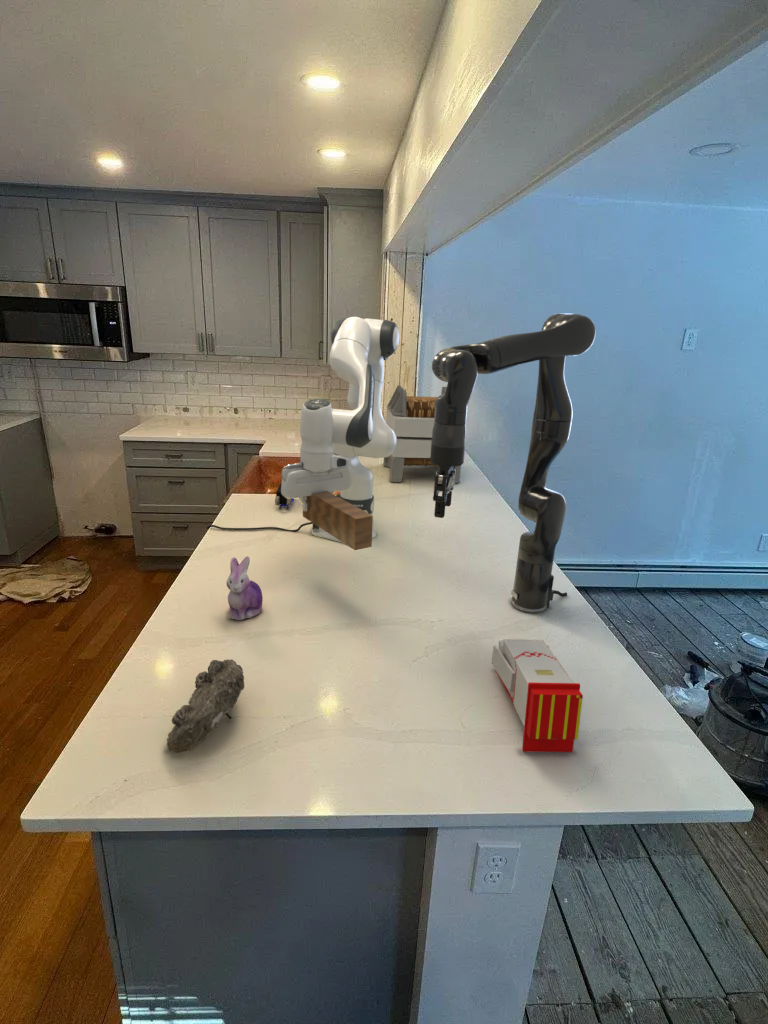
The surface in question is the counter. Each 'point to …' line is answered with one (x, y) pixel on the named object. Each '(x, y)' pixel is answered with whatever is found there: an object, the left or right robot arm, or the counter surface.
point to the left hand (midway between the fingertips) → (316, 508)
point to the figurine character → (282, 499)
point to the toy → (539, 694)
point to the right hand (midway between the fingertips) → (442, 511)
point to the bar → (340, 519)
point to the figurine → (243, 592)
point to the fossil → (206, 705)
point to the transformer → (411, 432)
